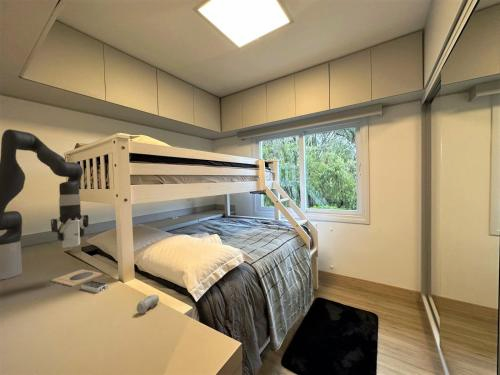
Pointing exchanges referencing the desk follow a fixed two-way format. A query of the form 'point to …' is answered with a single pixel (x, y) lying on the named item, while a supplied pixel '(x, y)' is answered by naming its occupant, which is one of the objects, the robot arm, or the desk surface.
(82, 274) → the beige flat board
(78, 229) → the skincare box
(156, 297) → the grey rounded cylinder
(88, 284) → the multiport hub
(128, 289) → the desk surface
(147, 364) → the desk surface
